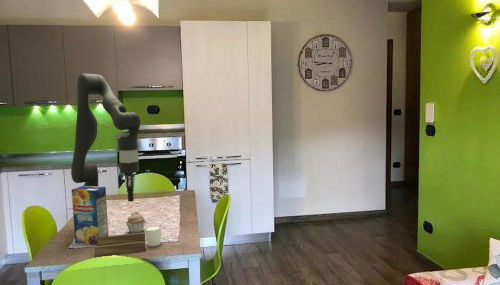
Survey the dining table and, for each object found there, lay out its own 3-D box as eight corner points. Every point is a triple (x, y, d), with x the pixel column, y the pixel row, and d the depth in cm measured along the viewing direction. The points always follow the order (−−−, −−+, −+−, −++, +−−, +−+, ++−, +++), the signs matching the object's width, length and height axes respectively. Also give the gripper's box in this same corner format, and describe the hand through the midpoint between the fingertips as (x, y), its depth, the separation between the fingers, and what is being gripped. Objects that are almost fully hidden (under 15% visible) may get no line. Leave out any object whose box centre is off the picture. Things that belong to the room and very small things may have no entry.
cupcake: (139, 235, 184) (138, 214, 183) (122, 233, 187) (120, 213, 186) (150, 229, 192) (149, 209, 191) (133, 227, 195) (132, 207, 194)
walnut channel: (97, 244, 173) (97, 237, 172) (145, 239, 178) (145, 232, 177) (94, 256, 160) (93, 247, 159) (145, 250, 165) (145, 242, 165)
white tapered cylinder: (153, 240, 177) (152, 224, 176) (165, 242, 174) (164, 226, 173) (142, 245, 171) (141, 229, 170) (154, 247, 168) (153, 231, 167)
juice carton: (75, 242, 176) (71, 189, 173) (85, 237, 183) (82, 185, 180) (98, 244, 173) (95, 190, 170) (108, 238, 180) (105, 186, 178)
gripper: (120, 158, 171) (122, 198, 173) (118, 163, 159) (120, 205, 161) (138, 157, 173) (140, 196, 175) (138, 162, 161) (140, 204, 163)
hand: (130, 201), depth 168 cm, fingers closed
